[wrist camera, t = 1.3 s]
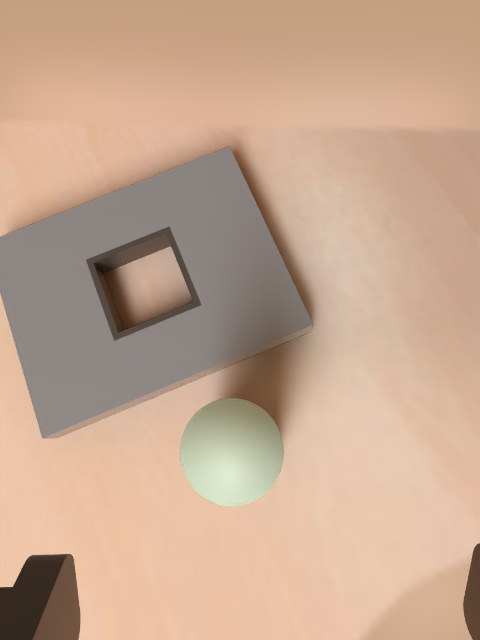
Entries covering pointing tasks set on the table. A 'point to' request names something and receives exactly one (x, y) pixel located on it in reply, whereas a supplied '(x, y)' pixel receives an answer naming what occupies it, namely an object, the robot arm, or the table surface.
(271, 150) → the table surface
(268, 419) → the peg
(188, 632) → the table surface
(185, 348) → the socket plate
